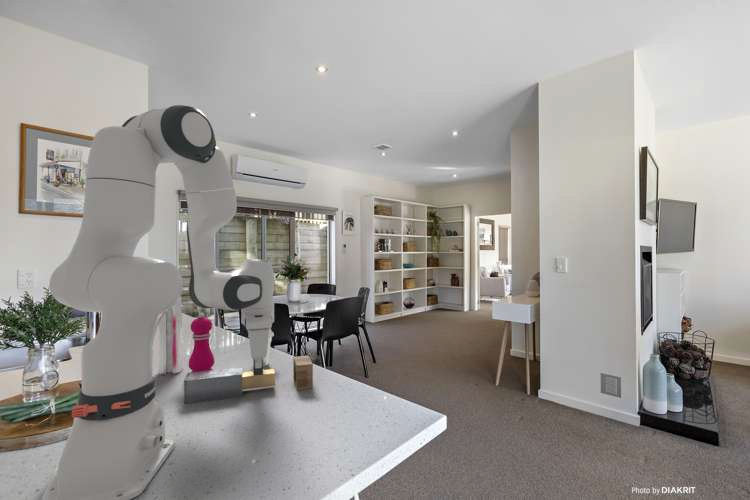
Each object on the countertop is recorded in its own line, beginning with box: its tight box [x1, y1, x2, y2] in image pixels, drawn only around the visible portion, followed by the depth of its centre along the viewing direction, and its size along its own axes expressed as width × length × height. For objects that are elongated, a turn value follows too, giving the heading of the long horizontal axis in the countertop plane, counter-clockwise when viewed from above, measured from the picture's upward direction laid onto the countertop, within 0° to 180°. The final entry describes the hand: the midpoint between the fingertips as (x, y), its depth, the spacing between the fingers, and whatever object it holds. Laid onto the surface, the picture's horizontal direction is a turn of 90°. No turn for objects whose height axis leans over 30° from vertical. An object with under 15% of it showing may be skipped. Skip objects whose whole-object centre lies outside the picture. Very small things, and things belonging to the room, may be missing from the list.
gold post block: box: [242, 358, 276, 391], centre depth 98 cm, size 4×20×10 cm, turn 110°
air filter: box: [157, 296, 183, 376], centre depth 113 cm, size 6×6×25 cm
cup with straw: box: [247, 328, 275, 367], centre depth 121 cm, size 8×9×20 cm
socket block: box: [292, 355, 314, 391], centre depth 104 cm, size 8×4×7 cm, turn 20°
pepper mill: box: [188, 312, 215, 372], centre depth 109 cm, size 7×7×20 cm
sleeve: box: [183, 366, 243, 405], centre depth 96 cm, size 6×14×6 cm, turn 110°
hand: (258, 364), depth 100 cm, fingers closed on gold post block, 3 cm apart
